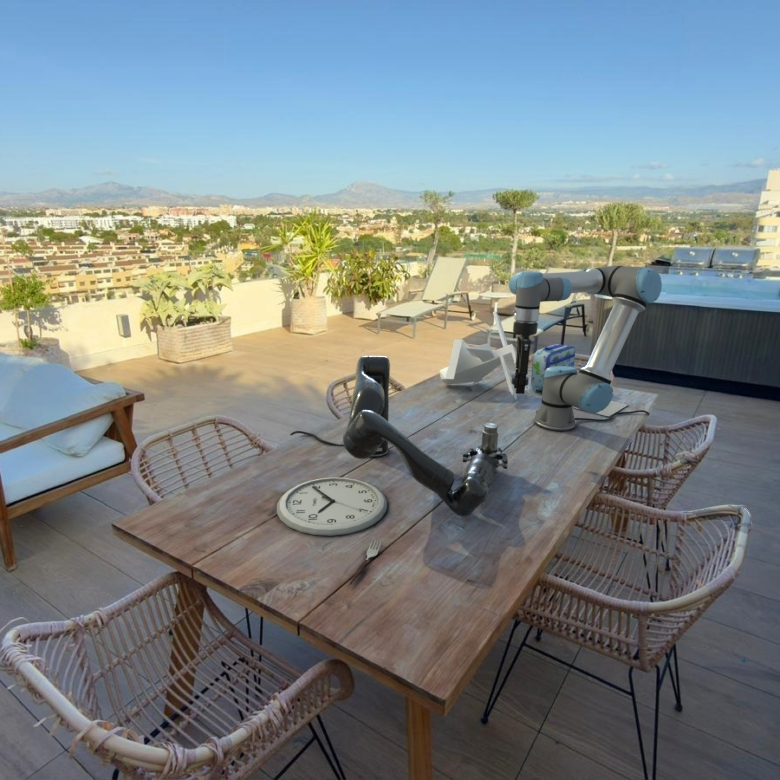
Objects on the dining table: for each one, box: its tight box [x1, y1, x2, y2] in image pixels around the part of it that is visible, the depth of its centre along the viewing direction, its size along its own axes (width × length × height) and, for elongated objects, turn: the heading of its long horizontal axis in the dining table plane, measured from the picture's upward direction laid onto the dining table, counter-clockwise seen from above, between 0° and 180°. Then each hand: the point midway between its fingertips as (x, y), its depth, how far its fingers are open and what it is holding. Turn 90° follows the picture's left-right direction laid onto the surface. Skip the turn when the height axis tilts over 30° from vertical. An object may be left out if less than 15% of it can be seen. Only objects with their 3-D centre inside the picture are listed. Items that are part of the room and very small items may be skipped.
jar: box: [481, 422, 499, 474], centre depth 162 cm, size 5×5×15 cm
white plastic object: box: [438, 310, 531, 400], centre depth 245 cm, size 37×45×31 cm
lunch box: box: [530, 343, 576, 392], centre depth 248 cm, size 26×11×21 cm, turn 134°
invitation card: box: [573, 400, 629, 418], centre depth 226 cm, size 21×1×15 cm
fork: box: [349, 538, 383, 585], centre depth 117 cm, size 3×16×2 cm, turn 160°
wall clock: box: [276, 476, 388, 537], centre depth 142 cm, size 30×2×30 cm
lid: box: [511, 374, 530, 387], centre depth 172 cm, size 5×5×2 cm
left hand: (490, 449), depth 165 cm, fingers closed on jar, 5 cm apart
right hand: (519, 390), depth 173 cm, fingers closed on lid, 5 cm apart
